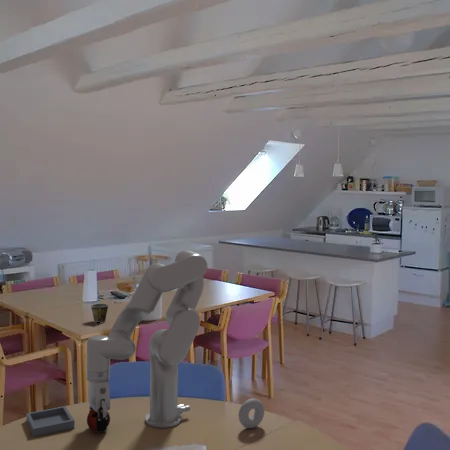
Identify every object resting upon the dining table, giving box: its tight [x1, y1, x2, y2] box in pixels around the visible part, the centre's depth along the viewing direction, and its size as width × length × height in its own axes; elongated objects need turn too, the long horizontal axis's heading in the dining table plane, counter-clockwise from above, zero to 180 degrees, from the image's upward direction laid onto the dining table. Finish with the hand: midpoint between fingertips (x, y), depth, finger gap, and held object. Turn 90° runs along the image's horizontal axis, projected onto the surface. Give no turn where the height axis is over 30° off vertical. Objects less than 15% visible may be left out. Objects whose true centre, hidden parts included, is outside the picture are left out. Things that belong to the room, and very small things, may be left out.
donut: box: [238, 397, 266, 429], centre depth 173 cm, size 10×4×10 cm, turn 122°
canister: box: [135, 284, 163, 321], centre depth 321 cm, size 16×16×20 cm
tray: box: [26, 405, 75, 438], centre depth 173 cm, size 13×13×3 cm
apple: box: [86, 408, 111, 433], centre depth 169 cm, size 7×8×8 cm
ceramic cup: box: [90, 303, 109, 323], centre depth 306 cm, size 13×10×10 cm
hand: (97, 425), depth 169 cm, fingers closed on apple, 7 cm apart
